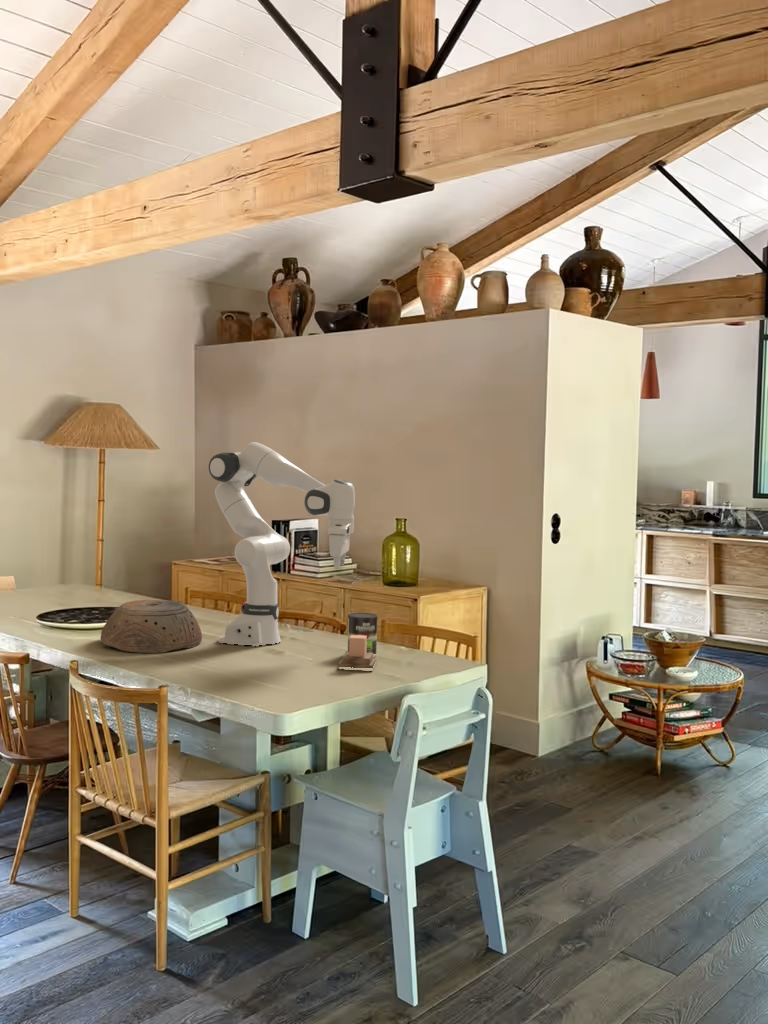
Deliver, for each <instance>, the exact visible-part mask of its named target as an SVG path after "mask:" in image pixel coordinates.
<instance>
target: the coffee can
mask: <svg viewBox="0 0 768 1024" xmlns="http://www.w3.org/2000/svg"><path fill="white" fill-rule="evenodd" d="M378 618H379V616H378V614H375V613H370V612H351V613H349V614H348V615H347V619H348V623H347V624H348V625H347V651H348V652H349V641H350V637H351V635H364V636H367V651H366V652H367V653H373V654H376V655H377V642H378V641H377V640H378V637H377V636H378Z"/></svg>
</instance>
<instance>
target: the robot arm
mask: <svg viewBox="0 0 768 1024" xmlns="http://www.w3.org/2000/svg"><path fill="white" fill-rule="evenodd" d="M208 472H209V475H210V476H211V478H212V479H213V480H215V481H218V482H220V483H219V484H217V486H216V487H215V489H214V497H215V499H216V502H217V504H218V506H219V508H220V510H221V513H222V514H223V516H224V517H225V520H226V521H227V523H228V524H229V526H230V528H231V529H232V531H233V532H234V533H235V534H236V535H238V536H239V537H241V538H243V539H241V540H240V541H238V542H237V543H236V545H235V547H234V558H235V559H236V562H237V563H238V564H239V565H240V566H241V568H242V570H243V573H244V576H245V581H246V601H245V602H243V603H242V604H241V606H240V610H241V613H240V614H238V615H237V616H235V617H234V618H233V619H232V620H230V621H229V622H228V623H227V625H226V627H225V630H224V634H223V635H221V636H220V637H218V641H217V642H218V643H219V644H223V643H227V645H234V644H238V645H237V646H244V645H252V646H251V647H255V646H256V647H260V646H259V645H262V646H267V645H266V644H272V645H276V644H275V643H277V644H279V642H280V643H281V642H282V639H281V637H280V630H279V623H278V622H279V621H278V619H279V609H280V608H279V603H278V581H277V580H276V578H274V577H273V575H272V571H271V565H276V564H279V563H281V562H282V561H284V560H287V558H288V557H289V555H290V552H291V544H290V542H289V540H288V538H286V537H285V536H283V535H281V534H279V533H278V532H276V531H275V529H273V528H272V526H270V525H269V524H268V523H267V522H266V520H264V518H262V516H261V515H260V513H259V512H258V511H257V509H256V507H255V505H254V504H253V502H252V501H251V499H250V497H249V496H248V494H247V493H246V490H245V487H248V486H250V485H251V484H252V482H253V480H255V479H256V478H257V477H258V478H260V480H262V481H264V482H265V483H268V484H270V485H272V486H276V487H277V486H278V487H287V488H294V489H297V490H301V491H302V492H304V493H306V495H305V497H304V508H305V509H306V511H307V512H308V513H309V514H310V515H313V516H316V517H317V516H318V517H319V516H320V517H321V516H325V517H326V516H327V517H328V522H327V523H328V525H327V534H328V535H329V537H328V538H329V539H328V544H329V545H328V546H329V555H330V557H333V564H334V565H333V569H334V570H339V569H340V568H341V566H344V565H345V560H346V556H347V555H346V553H347V552H349V550H350V545H351V544H350V542H351V540H350V537H351V534H354V530H355V528H354V527H355V515H354V511H355V507H356V491H355V486H354V485H353V483H351V482H350V481H347V480H343V479H333V480H331V482H330V483H328V484H326V483H324V482H323V481H321V480H319V479H318V478H316V477H314V476H313V475H311V474H310V473H308V472H306V471H304V470H303V469H301V468H300V467H299V466H297V465H295V464H294V463H292V462H291V461H289V460H288V459H287V458H286V457H284V456H282V454H280V453H278V452H277V451H275V450H273V448H270V447H269V446H266V445H265V444H263V443H260V442H257V441H252V442H249V443H248V444H247V445H245V446H244V448H243V449H242V451H232V452H220V453H217V454H215V455H213V456H212V457H211V459H210V460H209V462H208Z"/></svg>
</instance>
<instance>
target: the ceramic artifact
mask: <svg viewBox="0 0 768 1024" xmlns="http://www.w3.org/2000/svg"><path fill="white" fill-rule="evenodd" d="M100 633H101V634H100V641H101V643H102V644H104V645H105V646H107V647H110V648H115V649H117V650H119V651H123V652H127V653H138V654H149V653H150V654H159V653H158V652H165V653H166V652H170V651H175V650H182V648H183V649H190V648H189V647H192V648H195V647H197V646H199V644H201V643H202V639H203V638H202V637H203V633H202V630H201V627H200V625H199V622H198V621H197V619H196V616H195V615H194V614H193V612H192V611H191V610H190V609H189V607H187V605H186V604H185V603H183V602H180V601H175V600H167V599H165V600H164V599H137V600H136V599H135V600H131V601H126V602H124V603H122V604H121V605H119V606H118V607H117V608H116V609H115V610H114V611H113V613H112V614H111V615H110V616H109V618H107V621H106V623H105V624H104V626H103V628H102V630H101V632H100ZM194 646H195V647H194Z"/></svg>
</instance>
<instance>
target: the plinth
mask: <svg viewBox="0 0 768 1024" xmlns="http://www.w3.org/2000/svg"><path fill="white" fill-rule="evenodd" d="M375 662H376V663H377V658H376V657H373V653H367V652H366V655H365V657H356V656H349V652H348V651H345V653H343V655H342V657H341V660H340V661H338V664H337V665H338V667H351V668H352V667H353V668H373V666H374V664H375ZM338 667H337V668H338Z"/></svg>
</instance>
